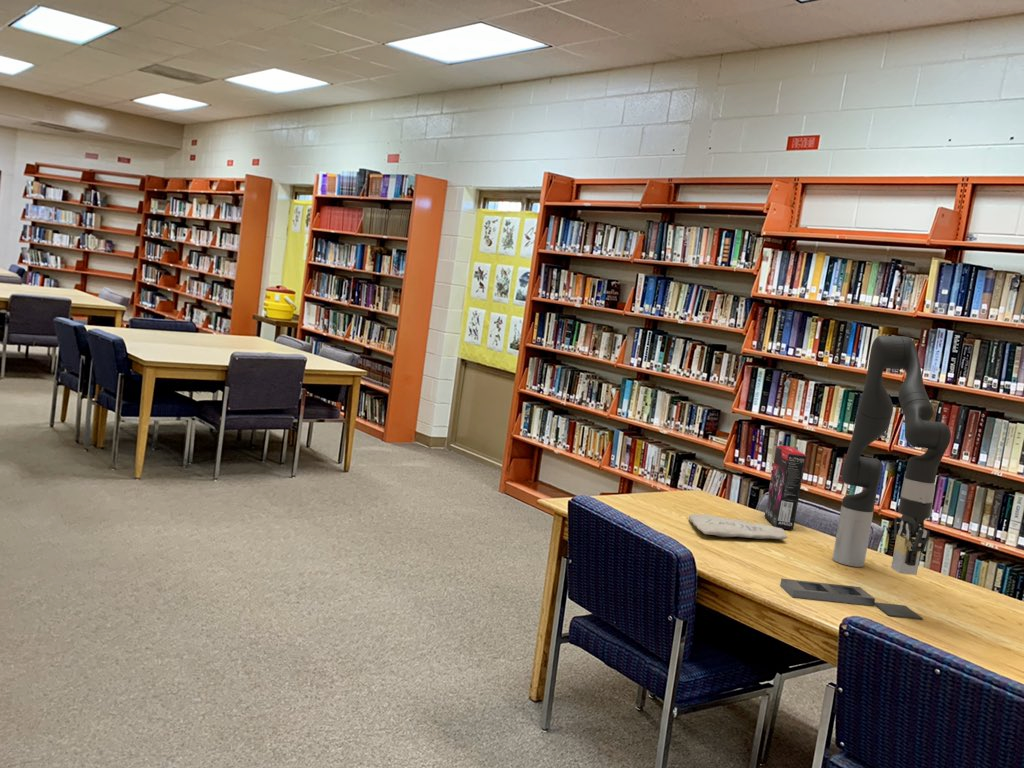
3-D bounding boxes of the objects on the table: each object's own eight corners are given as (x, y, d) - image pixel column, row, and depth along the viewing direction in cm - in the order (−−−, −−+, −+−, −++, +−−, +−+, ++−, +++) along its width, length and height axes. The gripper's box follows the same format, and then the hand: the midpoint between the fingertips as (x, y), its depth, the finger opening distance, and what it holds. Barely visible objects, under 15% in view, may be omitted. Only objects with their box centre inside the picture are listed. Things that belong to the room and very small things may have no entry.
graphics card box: (763, 516, 317) (774, 444, 314) (781, 519, 316) (793, 446, 314) (775, 529, 300) (787, 452, 297) (795, 531, 299) (807, 454, 297)
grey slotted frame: (780, 585, 234) (781, 578, 233) (858, 594, 235) (860, 587, 235) (792, 597, 225) (793, 589, 224) (873, 606, 226) (875, 598, 226)
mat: (872, 603, 228) (872, 602, 228) (905, 607, 228) (905, 605, 228) (888, 616, 219) (888, 614, 219) (922, 619, 219) (922, 618, 219)
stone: (700, 539, 272) (794, 551, 272) (702, 524, 272) (796, 536, 272) (685, 521, 298) (771, 532, 297) (687, 507, 297) (773, 518, 297)
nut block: (891, 567, 225) (896, 534, 224) (907, 569, 225) (913, 536, 224) (899, 573, 220) (905, 539, 219) (916, 575, 220) (922, 540, 220)
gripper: (889, 489, 228) (878, 552, 229) (916, 502, 213) (905, 569, 215) (916, 492, 228) (905, 555, 230) (945, 506, 214) (934, 572, 215)
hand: (905, 561), depth 222 cm, fingers closed on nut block, 4 cm apart
